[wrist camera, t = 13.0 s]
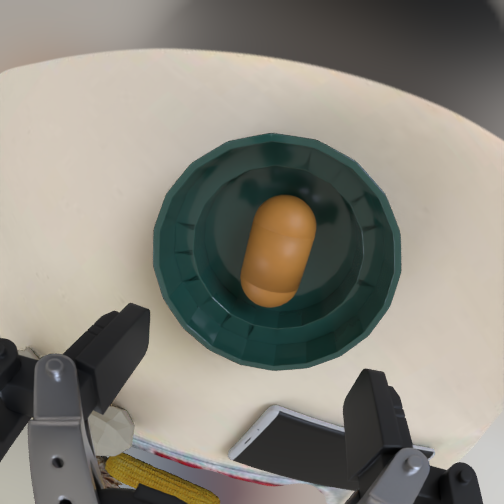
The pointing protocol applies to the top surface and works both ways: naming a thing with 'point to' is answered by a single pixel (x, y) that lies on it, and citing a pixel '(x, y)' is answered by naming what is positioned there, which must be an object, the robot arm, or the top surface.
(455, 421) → the top surface
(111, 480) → the pine cone
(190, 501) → the food
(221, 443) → the top surface
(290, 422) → the smartphone
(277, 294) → the bread roll
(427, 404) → the top surface
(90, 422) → the faceted club
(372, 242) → the green round bowl
